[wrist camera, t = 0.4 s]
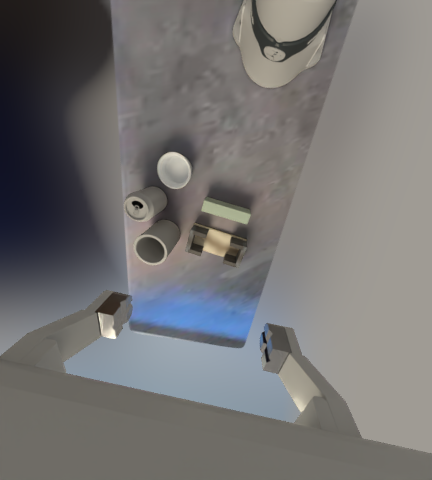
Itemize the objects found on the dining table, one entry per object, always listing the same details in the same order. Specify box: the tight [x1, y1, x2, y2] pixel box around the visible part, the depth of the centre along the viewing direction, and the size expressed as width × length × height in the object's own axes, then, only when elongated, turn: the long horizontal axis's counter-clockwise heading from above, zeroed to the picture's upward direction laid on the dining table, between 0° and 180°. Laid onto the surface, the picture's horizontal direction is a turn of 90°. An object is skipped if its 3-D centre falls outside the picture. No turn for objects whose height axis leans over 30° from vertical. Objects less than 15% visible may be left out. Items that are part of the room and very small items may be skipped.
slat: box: [202, 197, 251, 224], centre depth 51 cm, size 3×13×5 cm, turn 74°
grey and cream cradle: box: [185, 223, 247, 268], centre depth 55 cm, size 8×17×5 cm, turn 73°
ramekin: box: [157, 152, 192, 189], centre depth 48 cm, size 9×9×4 cm
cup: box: [134, 220, 180, 265], centre depth 53 cm, size 9×9×12 cm
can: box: [124, 187, 167, 222], centre depth 49 cm, size 8×8×12 cm
